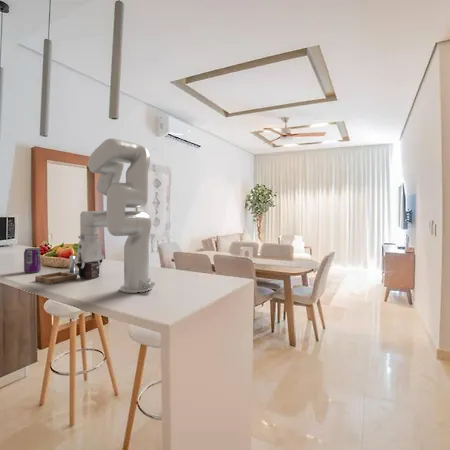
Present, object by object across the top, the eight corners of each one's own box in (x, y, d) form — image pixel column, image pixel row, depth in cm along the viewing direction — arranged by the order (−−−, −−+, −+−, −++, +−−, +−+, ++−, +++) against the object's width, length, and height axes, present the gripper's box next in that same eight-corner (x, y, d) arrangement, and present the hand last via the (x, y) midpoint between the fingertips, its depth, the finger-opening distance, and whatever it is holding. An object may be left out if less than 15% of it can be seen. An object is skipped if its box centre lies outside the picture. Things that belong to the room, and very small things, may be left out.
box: (91, 279, 141) (91, 263, 140) (79, 278, 142) (79, 263, 142) (99, 276, 147) (99, 261, 146) (88, 276, 148) (87, 261, 147)
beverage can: (43, 271, 156) (43, 248, 156) (28, 274, 150) (28, 249, 150) (36, 270, 160) (35, 247, 160) (21, 272, 154) (21, 248, 154)
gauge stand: (84, 273, 153) (84, 255, 153) (70, 276, 146) (70, 257, 146) (74, 271, 157) (74, 254, 157) (59, 274, 150) (59, 256, 150)
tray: (77, 279, 141) (77, 274, 141) (51, 284, 130) (51, 279, 130) (61, 276, 147) (60, 271, 146) (35, 281, 136) (35, 276, 136)
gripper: (77, 239, 134) (77, 279, 135) (109, 236, 149) (109, 272, 150) (66, 238, 138) (67, 277, 138) (99, 236, 153) (99, 271, 154)
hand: (89, 274), depth 144 cm, fingers closed on box, 7 cm apart
